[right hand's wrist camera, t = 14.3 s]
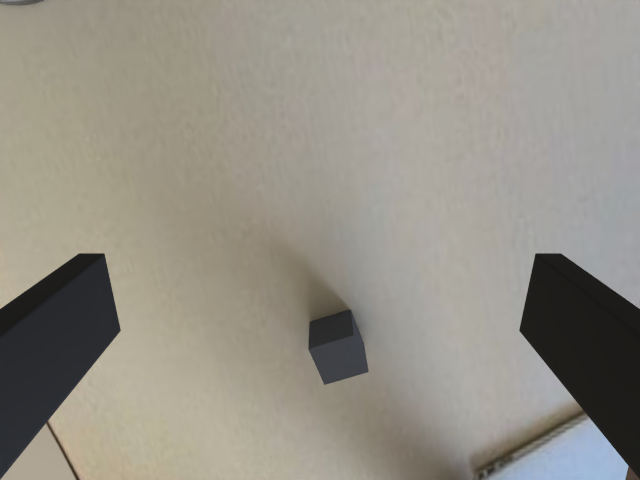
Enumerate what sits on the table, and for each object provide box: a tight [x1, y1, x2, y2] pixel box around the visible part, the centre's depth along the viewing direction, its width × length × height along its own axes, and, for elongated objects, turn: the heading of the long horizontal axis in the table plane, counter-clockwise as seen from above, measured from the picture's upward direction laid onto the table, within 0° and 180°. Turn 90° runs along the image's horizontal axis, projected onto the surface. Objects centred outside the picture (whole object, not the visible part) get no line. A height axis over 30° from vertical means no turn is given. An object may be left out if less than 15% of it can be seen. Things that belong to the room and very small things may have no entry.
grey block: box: [309, 310, 368, 384], centre depth 45 cm, size 5×5×5 cm
